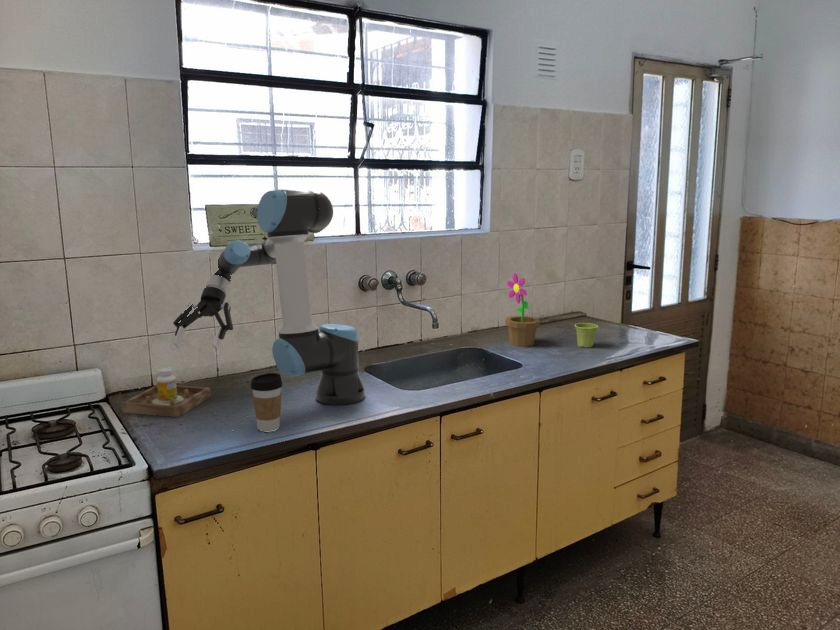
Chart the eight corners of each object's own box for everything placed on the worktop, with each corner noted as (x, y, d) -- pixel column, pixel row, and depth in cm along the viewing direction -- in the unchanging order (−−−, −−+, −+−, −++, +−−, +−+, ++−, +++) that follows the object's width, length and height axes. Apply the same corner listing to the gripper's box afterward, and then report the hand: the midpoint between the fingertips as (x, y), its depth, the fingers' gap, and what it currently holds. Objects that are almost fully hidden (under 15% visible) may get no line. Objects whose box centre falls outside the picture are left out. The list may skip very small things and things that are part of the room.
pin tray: (159, 392, 207) (158, 382, 206) (210, 396, 203) (209, 385, 203) (123, 412, 190) (121, 400, 189) (178, 417, 186) (177, 405, 185)
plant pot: (580, 349, 260) (581, 328, 258) (569, 343, 269) (570, 323, 267) (601, 348, 262) (602, 327, 260) (589, 342, 271) (591, 322, 269)
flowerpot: (497, 342, 271) (499, 271, 264) (523, 337, 278) (525, 268, 272) (520, 349, 259) (523, 276, 253) (546, 345, 267) (549, 273, 260)
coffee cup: (289, 430, 177) (287, 377, 174) (259, 437, 172) (257, 383, 169) (277, 420, 184) (274, 370, 181) (248, 427, 179) (245, 375, 176)
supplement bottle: (155, 400, 196) (152, 369, 194) (171, 395, 200) (169, 365, 198) (163, 404, 193) (161, 373, 191) (180, 399, 197) (178, 369, 194)
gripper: (253, 299, 219) (235, 353, 208) (186, 296, 223) (165, 350, 212) (245, 286, 212) (226, 342, 201) (176, 284, 217) (154, 338, 206)
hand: (195, 346), depth 207 cm, fingers open, 13 cm apart
